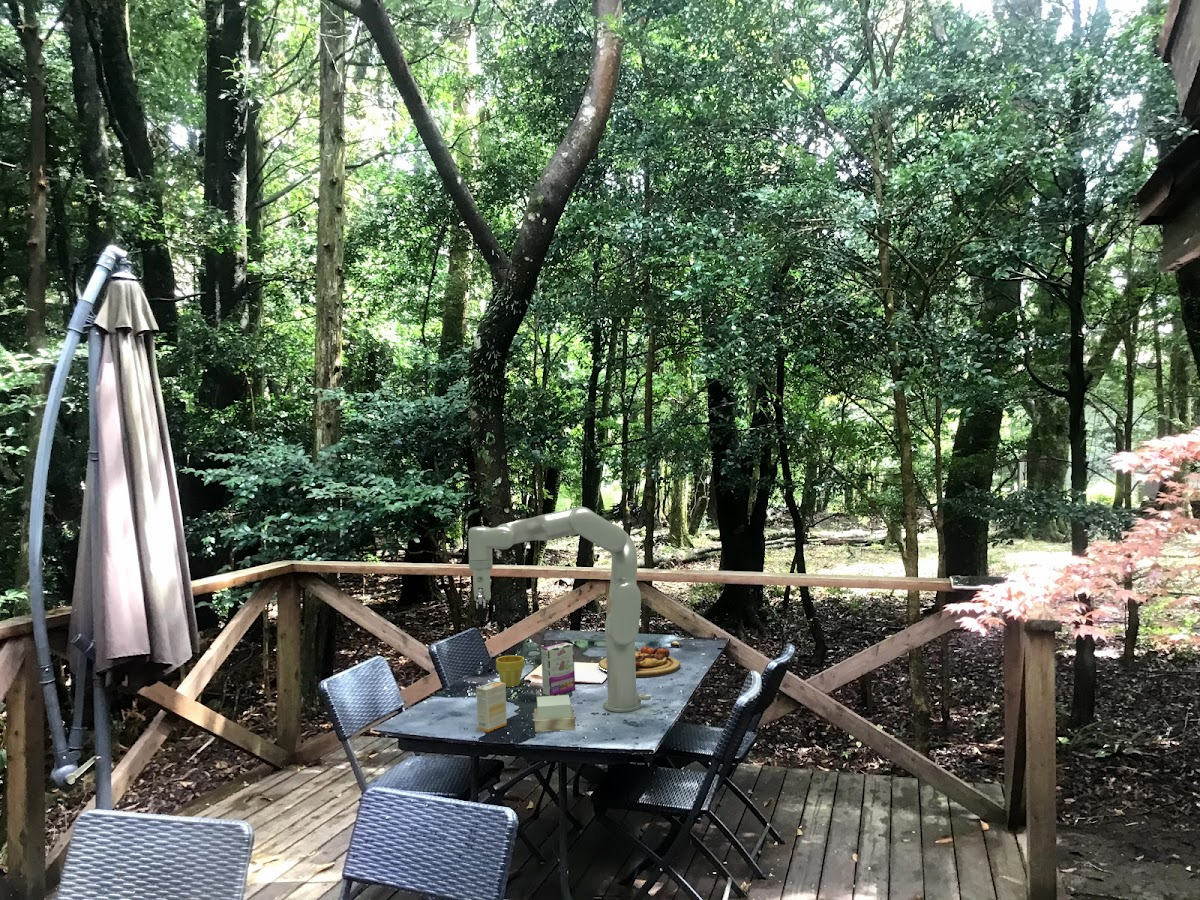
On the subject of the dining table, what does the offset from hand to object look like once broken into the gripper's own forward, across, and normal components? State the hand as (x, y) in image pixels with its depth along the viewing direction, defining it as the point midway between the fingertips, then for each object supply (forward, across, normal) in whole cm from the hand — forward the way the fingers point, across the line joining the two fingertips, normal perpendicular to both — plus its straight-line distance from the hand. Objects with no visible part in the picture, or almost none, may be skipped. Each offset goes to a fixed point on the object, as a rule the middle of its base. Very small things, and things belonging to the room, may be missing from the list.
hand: (482, 617), depth 251 cm
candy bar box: (+31, +20, -25) cm, 45 cm away
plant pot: (+31, +32, -8) cm, 46 cm away
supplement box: (+31, -13, -3) cm, 34 cm away
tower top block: (+28, -14, -22) cm, 38 cm away
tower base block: (+32, -14, -22) cm, 41 cm away
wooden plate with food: (+32, +48, -58) cm, 82 cm away
